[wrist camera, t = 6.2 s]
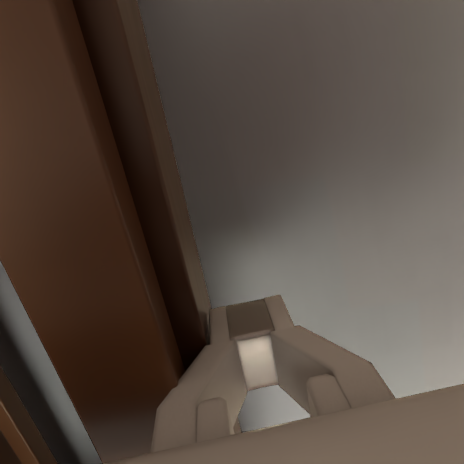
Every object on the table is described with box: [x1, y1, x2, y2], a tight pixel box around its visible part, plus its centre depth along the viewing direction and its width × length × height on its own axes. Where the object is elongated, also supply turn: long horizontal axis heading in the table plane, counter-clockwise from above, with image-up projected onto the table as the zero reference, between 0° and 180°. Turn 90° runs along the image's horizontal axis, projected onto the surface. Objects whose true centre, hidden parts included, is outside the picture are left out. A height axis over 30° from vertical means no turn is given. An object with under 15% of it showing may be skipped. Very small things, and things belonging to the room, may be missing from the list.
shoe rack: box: [0, 0, 242, 464], centre depth 10 cm, size 13×25×6 cm, turn 10°
